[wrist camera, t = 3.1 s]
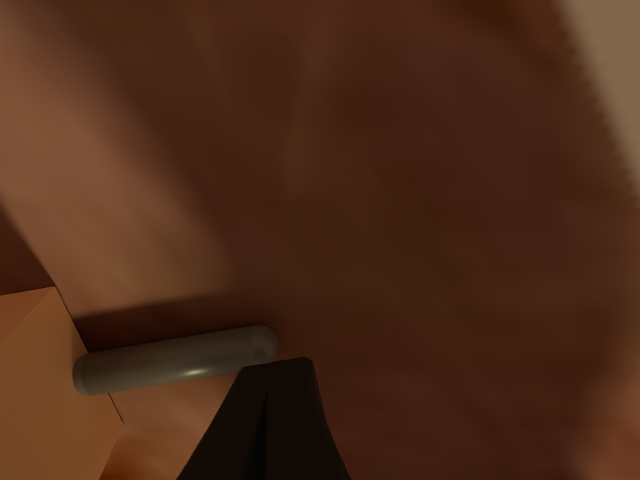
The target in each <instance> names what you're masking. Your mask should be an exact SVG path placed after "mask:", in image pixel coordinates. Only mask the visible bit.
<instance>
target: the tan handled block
mask: <svg viewBox="0 0 640 480" xmlns="http://www.w3.org/2000/svg"><path fill="white" fill-rule="evenodd" d="M278 351H279V341H278V338H277V336H276V334H275V333H274V332H273V331H272V330H271V329H270V328H268V327H266V326H262V325H253V326H247V327H241V328H235V329H229V330H223V331H217V332H211V333H205V334H199V335H193V336H187V337H181V338H175V339H169V340H163V341H157V342H151V343H145V344H139V345H132V346H126V347H120V348H114V349H108V350H102V351H96V352H91V353H88V352H87V350H86V348H85V346H84V344H83V342H82V339H81V337H80V335H79V333H78V331H77V329H76V327H75V325H74V323H73V321H72V319H71V317H70V315H69V313H68V311H67V309H66V307H65V305H64V303H63V301H62V299H61V297H60V295H59V293H58V291H57V289H56V287H55V286H53V287H48V288H42V289H36V290H30V291H24V292H19V293H13V294H7V295H1V296H0V480H99V478H100V476H101V474H102V471H103V469H104V467H105V465H106V463H107V460H108V458H109V456H110V454H111V452H112V449H113V447H114V445H115V443H116V441H117V438H118V436H119V434H120V432H121V429H122V427H123V423H122V421H121V419H120V417H119V415H118V412H117V410H116V408H115V406H114V404H113V402H112V400H111V398H110V396H109V394H108V393H111V392H118V391H124V390H130V389H136V388H142V387H149V386H155V385H161V384H167V383H174V382H180V381H186V380H192V379H198V378H205V377H211V376H217V375H223V374H230V373H236V372H240V370H241V369H242V368H243V367H245V366H251V365H258V364H264V363H270V362H273V361H274V360H275V358H276V356H277V354H278Z"/></svg>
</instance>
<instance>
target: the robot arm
mask: <svg viewBox="0 0 640 480" xmlns="http://www.w3.org/2000/svg"><path fill="white" fill-rule="evenodd" d="M176 480H351V478H350V476H349V474H348V472H347V470H346V468H345V466H344V463H343V461H342V459H341V457H340V455H339V452H338V450H337V448H336V445H335V443H334V440H333V438H332V435H331V433H330V430H329V428H328V426H327V423H326V419H325V415H324V410H323V406H322V401H321V397H320V393H319V388H318V384H317V379H316V375H315V370H314V366H313V362H312V360H310V359H309V358H307V357H301V358H295V359H288V360H282V361H276V362H270V363H264V364H258V365H251V366H245V367H243V368H242V369H241V370H240V372H239V373H238V375H237V377H236V379H235V381H234V382H233V384H232V386H231V388H230V390H229V392H228V394H227V395H226V397H225V399H224V401H223V403H222V404H221V406H220V408H219V410H218V412H217V413H216V415H215V417H214V419H213V420H212V422H211V424H210V426H209V427H208V429H207V431H206V432H205V434H204V436H203V437H202V439H201V441H200V442H199V444H198V445H197V447H196V449H195V450H194V452H193V454H192V455H191V457H190V459H189V460H188V462H187V464H186V465H185V467H184V468H183V470H182V471H181V473H180V475H179V476H178V478H177V479H176Z"/></svg>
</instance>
